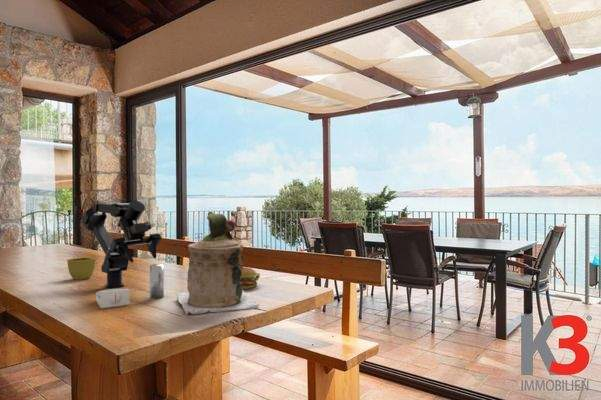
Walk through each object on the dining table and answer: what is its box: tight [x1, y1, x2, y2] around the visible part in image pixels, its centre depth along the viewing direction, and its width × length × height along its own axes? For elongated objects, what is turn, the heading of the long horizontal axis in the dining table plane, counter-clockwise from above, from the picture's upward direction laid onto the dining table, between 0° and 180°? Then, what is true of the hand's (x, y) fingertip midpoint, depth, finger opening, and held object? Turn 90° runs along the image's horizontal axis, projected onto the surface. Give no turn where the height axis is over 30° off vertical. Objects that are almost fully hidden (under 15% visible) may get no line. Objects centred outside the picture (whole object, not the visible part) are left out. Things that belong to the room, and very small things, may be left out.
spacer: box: [149, 263, 165, 300], centre depth 153 cm, size 5×5×12 cm
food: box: [240, 266, 261, 290], centre depth 172 cm, size 14×14×8 cm
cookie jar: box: [176, 211, 260, 315], centre depth 144 cm, size 25×25×32 cm
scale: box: [95, 288, 131, 309], centre depth 146 cm, size 13×10×5 cm
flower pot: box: [66, 256, 97, 281], centre depth 190 cm, size 9×9×9 cm
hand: (144, 259), depth 159 cm, fingers open, 9 cm apart
